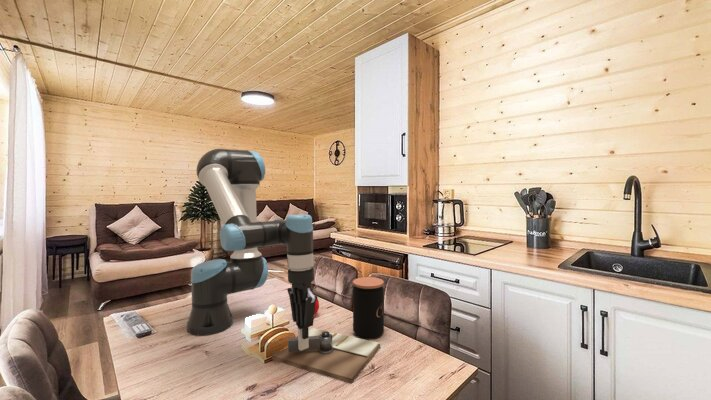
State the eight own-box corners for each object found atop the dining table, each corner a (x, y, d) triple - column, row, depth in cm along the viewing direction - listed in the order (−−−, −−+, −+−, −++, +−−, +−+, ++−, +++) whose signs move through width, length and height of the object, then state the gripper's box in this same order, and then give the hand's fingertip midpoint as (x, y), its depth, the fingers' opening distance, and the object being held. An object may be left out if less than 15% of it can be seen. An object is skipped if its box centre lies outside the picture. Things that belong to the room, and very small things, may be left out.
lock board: (272, 359, 93) (272, 353, 93) (310, 331, 111) (310, 326, 111) (351, 383, 82) (351, 376, 82) (380, 347, 100) (380, 342, 100)
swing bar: (331, 343, 98) (331, 329, 98) (332, 350, 95) (332, 335, 94) (288, 347, 96) (288, 332, 96) (288, 354, 93) (287, 338, 92)
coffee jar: (382, 341, 104) (381, 286, 103) (350, 338, 106) (349, 285, 105) (385, 327, 114) (385, 277, 114) (356, 324, 117) (356, 276, 116)
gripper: (324, 269, 90) (326, 351, 90) (300, 262, 100) (303, 337, 100) (301, 274, 85) (304, 361, 86) (278, 266, 95) (281, 345, 95)
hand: (303, 348), depth 93 cm, fingers closed
